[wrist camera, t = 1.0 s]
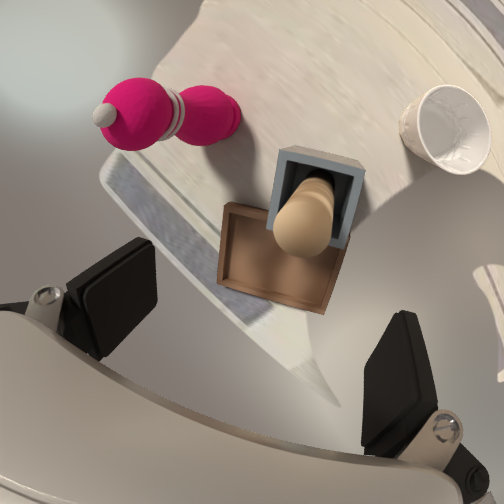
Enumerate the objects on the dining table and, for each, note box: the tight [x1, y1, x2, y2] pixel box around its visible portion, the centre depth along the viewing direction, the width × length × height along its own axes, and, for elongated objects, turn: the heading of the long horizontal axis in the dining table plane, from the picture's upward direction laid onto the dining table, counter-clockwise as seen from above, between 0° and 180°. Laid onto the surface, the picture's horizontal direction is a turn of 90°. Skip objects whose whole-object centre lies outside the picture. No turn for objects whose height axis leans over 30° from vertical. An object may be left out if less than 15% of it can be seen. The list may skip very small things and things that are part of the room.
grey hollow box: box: [266, 146, 366, 250], centre depth 27 cm, size 8×8×9 cm
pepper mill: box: [93, 78, 241, 151], centre depth 23 cm, size 7×7×20 cm
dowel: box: [273, 169, 335, 258], centre depth 23 cm, size 4×4×16 cm
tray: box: [217, 202, 350, 315], centre depth 36 cm, size 16×12×2 cm
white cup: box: [399, 85, 492, 175], centre depth 20 cm, size 8×8×10 cm
